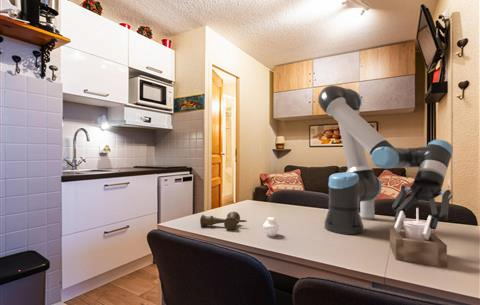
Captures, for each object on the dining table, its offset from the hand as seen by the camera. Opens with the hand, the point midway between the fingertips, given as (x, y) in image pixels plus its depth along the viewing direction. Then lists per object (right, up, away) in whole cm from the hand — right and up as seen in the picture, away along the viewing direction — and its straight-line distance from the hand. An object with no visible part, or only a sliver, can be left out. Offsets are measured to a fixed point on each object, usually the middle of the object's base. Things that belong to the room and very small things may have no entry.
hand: (410, 233), depth 73 cm
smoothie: (+3, -7, +2) cm, 8 cm away
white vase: (-39, -8, +21) cm, 45 cm away
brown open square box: (+3, -8, +2) cm, 8 cm away
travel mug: (+12, -9, +48) cm, 50 cm away
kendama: (-58, -8, +32) cm, 67 cm away
